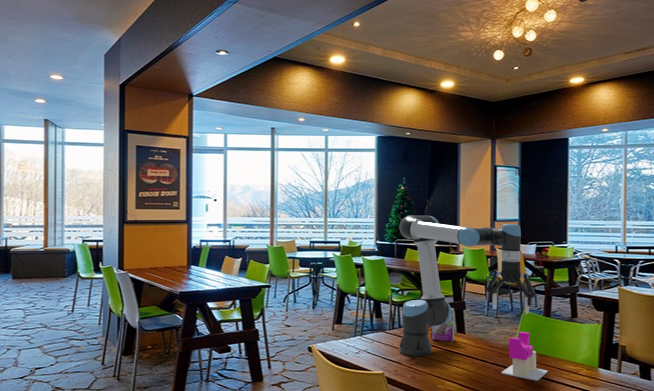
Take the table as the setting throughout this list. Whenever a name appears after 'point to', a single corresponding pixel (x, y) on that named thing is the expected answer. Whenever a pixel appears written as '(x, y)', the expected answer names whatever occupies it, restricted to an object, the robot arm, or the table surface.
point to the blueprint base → (531, 376)
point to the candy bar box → (444, 330)
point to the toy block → (520, 347)
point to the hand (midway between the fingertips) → (510, 311)
